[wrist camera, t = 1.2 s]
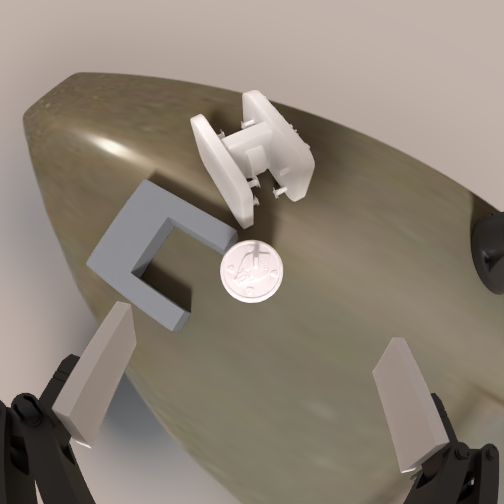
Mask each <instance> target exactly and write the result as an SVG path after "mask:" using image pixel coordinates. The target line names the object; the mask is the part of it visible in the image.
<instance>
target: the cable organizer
mask: <svg viewBox="0 0 504 504" xmlns="http://www.w3.org/2000/svg"><path fill="white" fill-rule="evenodd" d="M242 100H243V119H244V123H242V121H241V123H242V126H241V128H242V129H243V130H241V131H239V132H237V133H234V134H232V135H230V136H227V137H225V135H224V131H223V132H222V131H221V134H219V135H217V134H216V133H215V132H214V130H213V129H212V127H211V126H210V124H209V123H208V121H207V120H206V118H205V117H204V116H203V115H202V114H199V115H197V116H195V117H193V118H191V125H192V128H193V132H194V135H195V139H196V143H197V146H198V149H199V153H200V156H201V159H202V161H203V163H204V165H205V167H206V169H207V171H208V172H209V174H210V176H211V177H212V179H213V181H214V183H215V184H216V186H217V188H218V189H219V191H220V193H221V194H222V196H223V198H224V199H225V201H226V203H227V205H228V206H229V208H230V210H231V211H232V213H233V215H234V216H235V218H236V220H237V221H238V223H239V224H240V226H241V227H242V228H243V229H246V228H247V227H249V226H251V225H253V205H255V204H257V206H258V205H259V202H258V198H256V197H255V199H254V200H253V194H252V191H251V187H253V186H257V185H258V186H259V187H260V184H259V181H258V178H257V177H256V175H258V174H260V173H262V172H264V171H266V169H269V171H270V172H271V174H272V175H273V177H274V178H275V179H276V181H277V182H278V184H279V185H280V187H281V188H280V189H278V190H275V189H274V187H273V189H274V191H273V193H274V194H275V197H276V198H277V197H278V195H279V194H281V193H283V192H285V194H286V195H287V196H288V198H289V199H291V200H292V201H294V202H295V201H297V200H299V199H301V198H303V197H305V194H306V192H307V189H308V186H309V183H310V180H311V177H312V174H313V171H314V168H315V162H314V159H313V156H312V154H311V152H310V150H309V148H310V146H309V145H308V144H307V143H306V144H305V143H304V142H303V141H302V139H301V138H300V137H299V136H298V133H296V131H297V130H293V129H292V128H293V126H292V125H291V124H290V125H289V124H288V122H287V121H286V120H285V119H284V118H283V116H281V115H280V113H279V112H278V111H277V110H276V109H275V107H273V105H272V104H271V103H270V102H269V101H268V100H267V97H266V96H263V95H262V93H261V92H259V91H258V90H255V89H254V90H251V91H248V92H245V93H243V95H242ZM247 178H252V179H253V180H252V181H250V182H247V180H246V179H247ZM260 188H261V187H260ZM254 196H255V195H254ZM278 198H279V197H278ZM259 206H260V205H259Z"/></svg>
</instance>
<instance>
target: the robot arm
mask: <svg viewBox="0 0 504 504" xmlns="http://www.w3.org/2000/svg"><path fill="white" fill-rule="evenodd" d="M472 255H473V260H474V264H475V267H476V270H477V272H478V275H479V277H480V278H481V280H482V282H483V283H484V285H485V286H486V287H487V288H488V289H489V290H490V291H491V292H493V293H495V294H504V212H500V213H490V214H487V215H486V216H484V217H483V218H481V219H480V220H478V222H477V223H476V224H475V227H474V229H473V233H472ZM136 345H137V344H136V338H135V331H134V324H133V317H132V309H131V304H128V303H123V302H119V301H117V302H116V303H115V305H114V306H113V308H112V309H111V311H110V312H109V314H108V315H107V317H106V318H105V320H104V321H103V323H102V324H101V326H100V327H99V329H98V330H97V332H96V334H95V335H94V337H93V338H92V340H91V341H90V343H89V345H88V346H87V348H86V349H85V351H84V353H83V354H82V356H81V357H78V356H75V355H73V354H71V355H69V356H68V357H66V358H65V359H64V360H63V361H62V362H61V364H60V365H59V367H58V369H57V371H56V372H55V373H54V375H53V378H51V380H50V381H49V383H48V385H47V387H46V388H45V390H44V391H43V393H42V395H41V397H40V398H39V400H38V399H37V398H36V397H35V396H34V395H32V394H30V393H22V394H19V395H17V396H16V397H15V398H14V399H13V401H12V403H11V408H9V407H6V406H5V404H4V403H3V402H2V401H1V400H0V504H38V502H37V496H36V488H35V481H36V484H37V487H38V489H39V492H40V495H41V498H42V500H43V503H44V504H96V503H95V501H94V499H93V497H92V495H91V493H90V491H89V489H88V487H87V485H86V482H85V480H84V478H83V476H82V473H81V471H80V468H79V466H78V464H77V461H76V458H75V456H74V453H73V451H72V448H71V445H70V443H69V441H70V438H71V436H72V438H73V439H74V440H75V441H76V442H77V443H79V444H82V445H84V446H87V447H89V448H92V446H93V443H94V440H95V438H96V436H97V433H98V431H99V428H100V426H101V423H102V421H103V418H104V416H105V414H106V411H107V409H108V406H109V404H110V402H111V399H112V397H113V395H114V393H115V390H116V388H117V386H118V384H119V381H120V379H121V377H122V375H123V372H124V370H125V368H126V366H127V364H128V362H129V359H130V357H131V355H132V353H133V351H134V349H135V347H136ZM372 373H373V376H374V379H375V383H376V386H377V389H378V392H379V395H380V398H381V402H382V405H383V408H384V412H385V415H386V418H387V422H388V425H389V429H390V432H391V436H392V440H393V443H394V447H395V451H396V455H397V459H398V463H399V467H400V471H401V473H403V472H408V471H412V470H414V469H416V468H417V467H419V466H420V465H422V469H421V470H420V471H419V472H417V473H416V474H414V475H413V476H412V477H411V478H410V479H411V480H412V479H414V478H415V477H417V478H416V480H414V481H415V482H414V484H413V486H412V488H411V490H410V492H409V494H408V496H407V498H406V500H405V502H404V503H403V504H497V501H498V487H499V452H498V450H497V448H496V447H495V446H494V445H493V444H486V445H485V446H483V447H482V448H481V449H469V447H468V446H467V445H466V444H465V443H463V442H458V440H457V438H456V435H455V433H454V430H453V428H452V425H451V423H450V420H449V418H448V417H447V413H446V411H445V410H444V409H445V408H444V406H443V404H442V401H441V400H440V399H439V397H438V396H437V395H436V394H435V393H431V394H430V392H429V390H428V387H427V385H426V383H425V381H424V378H423V376H422V374H421V372H420V370H419V368H418V365H417V363H416V361H415V359H414V357H413V355H412V353H411V351H410V349H409V347H408V345H407V343H406V341H405V339H404V338H396V337H392V339H391V341H390V343H389V344H388V346H387V348H386V350H385V352H384V353H383V355H382V357H381V358H380V360H379V362H378V363H377V365H376V367H375V368H374V370H373V372H372ZM34 478H35V479H34ZM473 479H474V484H473V485H471V481H472V480H473Z"/></svg>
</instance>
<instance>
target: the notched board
mask: <svg viewBox="0 0 504 504" xmlns="http://www.w3.org/2000/svg"><path fill="white" fill-rule="evenodd" d="M174 226H176V227H177V228H179V229H181V230H182V231H184V232H186V233H187V234H189V235H191V236H192V237H194V238H196V239H197V240H199V241H201V242H202V243H204V244H206V245H207V246H209V247H211V248H212V249H214V250H216V251H217V252H219V253H221V254H222V255H224V256H225V254H226V253H227V251H228V250H229V249H230V248H231V247H232V246H234V245H235V244H236V242H237V240H238V234H237V230H235V229H234V228H232V227H230V226H228V225H227V224H225V223H223V222H221V221H220V220H218V219H216V218H214V217H212V216H211V215H209V214H207V213H205V212H204V211H202V210H200V209H198V208H197V207H195V206H193V205H191V204H189V203H188V202H186V201H184V200H182V199H180V198H179V197H177V196H175V195H173V194H172V193H170V192H168V191H166V190H164V189H163V188H161V187H159V186H157V185H155V184H154V183H152V182H150V181H148V180H146V179H144V180H143V181H142V183H141V184H140V185H139V187H138V188H137V189H136V191H135V192H134V193H133V195H132V196H131V197H130V199H129V200H128V201H127V203H126V204H125V205H124V207H123V208H122V210H121V211H120V212H119V214H118V215H117V217H116V218H115V219H114V221H113V222H112V224H111V225H110V227H109V228H108V230H107V231H106V233H105V234H104V236H103V237H102V239H101V240H100V242H99V243H98V245H97V246H96V248H95V250H94V251H93V253H92V254H91V256H90V257H89V259H88V261H87V262H86V265H87V266H88V267H90V268H91V269H92V270H93V271H94V272H95V273H97V274H98V275H99V276H100V277H101V278H102V279H104V280H105V281H106V282H107V283H108V284H110V285H111V286H112V287H113V288H115V289H116V290H117V291H118V292H120V293H121V294H122V295H123V296H125V297H126V298H127V299H128V300H130V301H131V302H132V303H134V304H135V305H136V306H137V307H139V308H140V309H141V310H143V311H144V312H145V313H147V314H148V315H149V316H151V317H152V318H154V319H155V320H156V321H158V322H159V323H160V324H162V325H163V326H165V327H166V328H167V329H169V330H170V331H172V332H179V331H180V330H181V328H182V327H183V325H184V323H185V322H186V320H187V319H188V317H189V315H190V314H191V313H190V312H188V311H187V310H185V309H184V308H182V307H181V306H179V305H178V304H176V303H175V302H173V301H172V300H170V299H169V298H168V297H166V296H165V295H163V294H162V293H160V292H159V291H158V290H156V289H155V288H153V287H152V286H151V285H149V284H148V283H146V282H145V281H144V280H142V279H141V278H140V277H141V276H142V274H143V272H144V271H145V269H146V268H147V266H148V265H149V263H150V262H151V260H152V259H153V257H154V256H155V254H156V253H157V251H158V250H159V248H160V247H161V245H162V244H163V242H164V241H165V239H166V238H167V236H168V235H169V233H170V232H171V231H172V229H173V228H174Z"/></svg>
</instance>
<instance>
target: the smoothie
mask: <svg viewBox="0 0 504 504" xmlns="http://www.w3.org/2000/svg"><path fill="white" fill-rule="evenodd" d="M220 272H221V279H222V282H223V285H224V287H225V288H226V290H227V291H228V292H229V293H230V294H231V295H232V296H233V297H234V298H236V299H238V300H240V301H244V302H249V303H252V302H260V301H263V300H266V299H267V298H269V297H270V296H272V295H273V294H274V293H275V292H276V290H277V289H278V288H279V286H280V283H281V281H282V276H283V265H282V261H281V258H280V256H279V255H278V253H277V252H276V251H275V249H273V248H272V247H271V246H270V245H268V244H266V243H264V242H262V241H258V240H246V241H242V242H239V243H237V244H235V245H234V246H232V247H231V248H230V249H229V250H228V251H227V253H226V254H225V256H224V257H223V260H222V263H221V269H220Z"/></svg>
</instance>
